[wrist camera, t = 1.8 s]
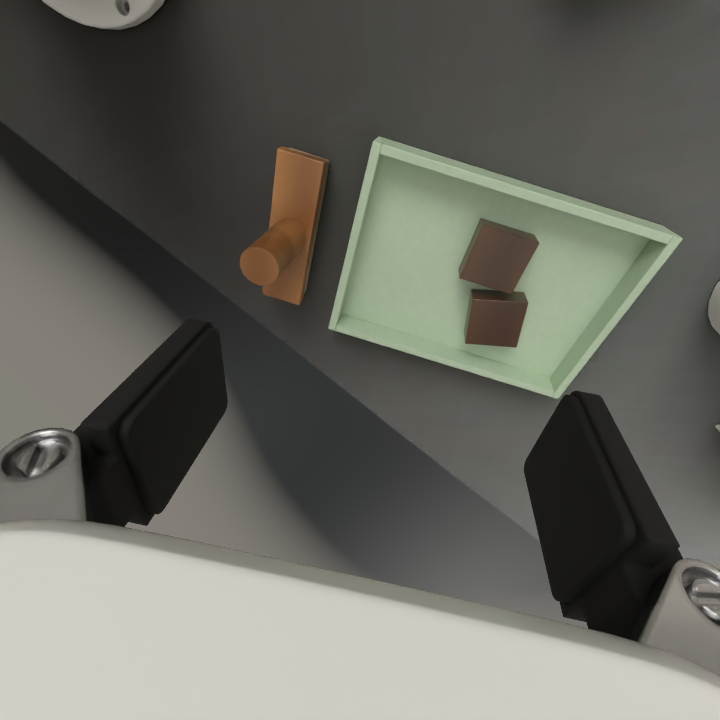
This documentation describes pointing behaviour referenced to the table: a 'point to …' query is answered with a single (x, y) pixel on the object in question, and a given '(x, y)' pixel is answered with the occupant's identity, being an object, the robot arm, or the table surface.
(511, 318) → the chip
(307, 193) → the brush
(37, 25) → the table surface
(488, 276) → the dark brown square block
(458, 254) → the tray
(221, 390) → the robot arm
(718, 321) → the base with upright slab
